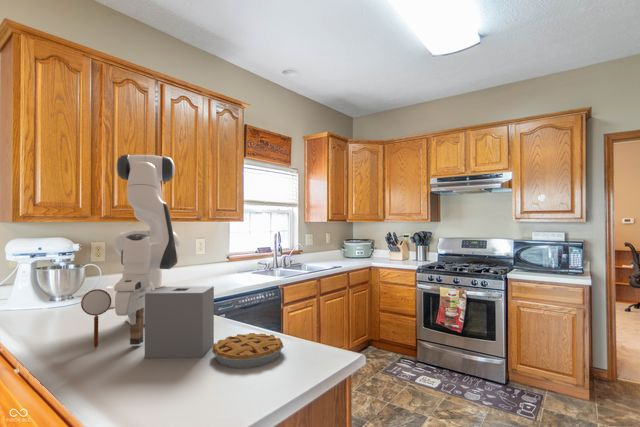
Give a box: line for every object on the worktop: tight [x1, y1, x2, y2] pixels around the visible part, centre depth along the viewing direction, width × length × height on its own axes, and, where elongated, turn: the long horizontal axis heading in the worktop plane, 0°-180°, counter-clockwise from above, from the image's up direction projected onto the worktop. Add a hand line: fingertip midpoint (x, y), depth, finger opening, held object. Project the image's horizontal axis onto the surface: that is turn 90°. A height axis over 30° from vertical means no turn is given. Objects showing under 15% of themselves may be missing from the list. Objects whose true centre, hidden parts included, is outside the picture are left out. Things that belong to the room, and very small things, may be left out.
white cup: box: [105, 285, 118, 309], centre depth 183 cm, size 8×8×10 cm
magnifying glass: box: [80, 288, 111, 351], centre depth 119 cm, size 9×2×20 cm, turn 114°
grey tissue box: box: [144, 285, 215, 359], centre depth 117 cm, size 12×18×20 cm, turn 90°
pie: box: [211, 332, 285, 369], centre depth 112 cm, size 22×22×5 cm
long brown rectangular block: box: [129, 295, 144, 346], centre depth 122 cm, size 3×3×16 cm
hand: (136, 322), depth 122 cm, fingers closed on long brown rectangular block, 3 cm apart
